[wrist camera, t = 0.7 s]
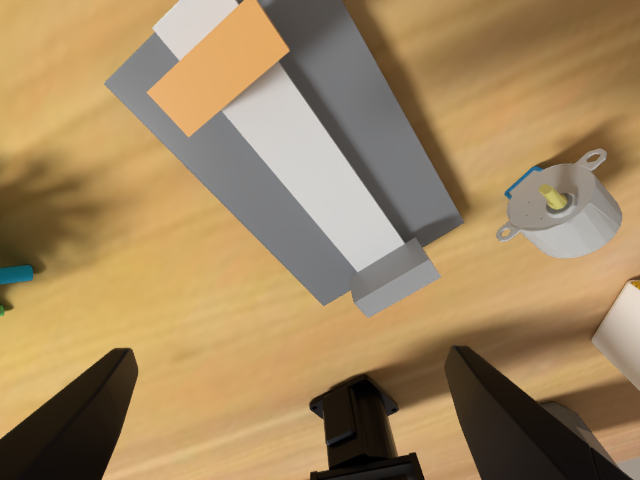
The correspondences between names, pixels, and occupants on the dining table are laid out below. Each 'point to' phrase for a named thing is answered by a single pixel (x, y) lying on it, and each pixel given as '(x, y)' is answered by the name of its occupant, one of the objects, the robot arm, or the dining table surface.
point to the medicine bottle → (622, 333)
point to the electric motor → (563, 209)
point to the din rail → (307, 152)
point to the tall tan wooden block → (219, 67)
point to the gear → (15, 276)
